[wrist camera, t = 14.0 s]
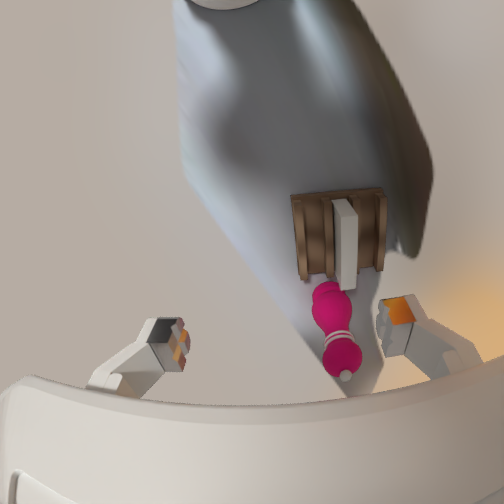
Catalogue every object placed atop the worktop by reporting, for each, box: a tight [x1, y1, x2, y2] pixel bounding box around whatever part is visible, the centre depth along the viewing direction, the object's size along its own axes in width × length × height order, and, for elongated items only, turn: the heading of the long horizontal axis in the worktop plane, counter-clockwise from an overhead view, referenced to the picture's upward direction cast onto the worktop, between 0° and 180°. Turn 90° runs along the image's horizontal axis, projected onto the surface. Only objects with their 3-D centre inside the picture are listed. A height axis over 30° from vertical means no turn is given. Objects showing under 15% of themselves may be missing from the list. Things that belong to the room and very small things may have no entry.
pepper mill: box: [312, 281, 362, 382], centre depth 43 cm, size 7×7×20 cm
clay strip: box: [331, 199, 358, 291], centre depth 42 cm, size 12×2×7 cm, turn 9°
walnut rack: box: [291, 188, 387, 280], centre depth 44 cm, size 14×15×4 cm
